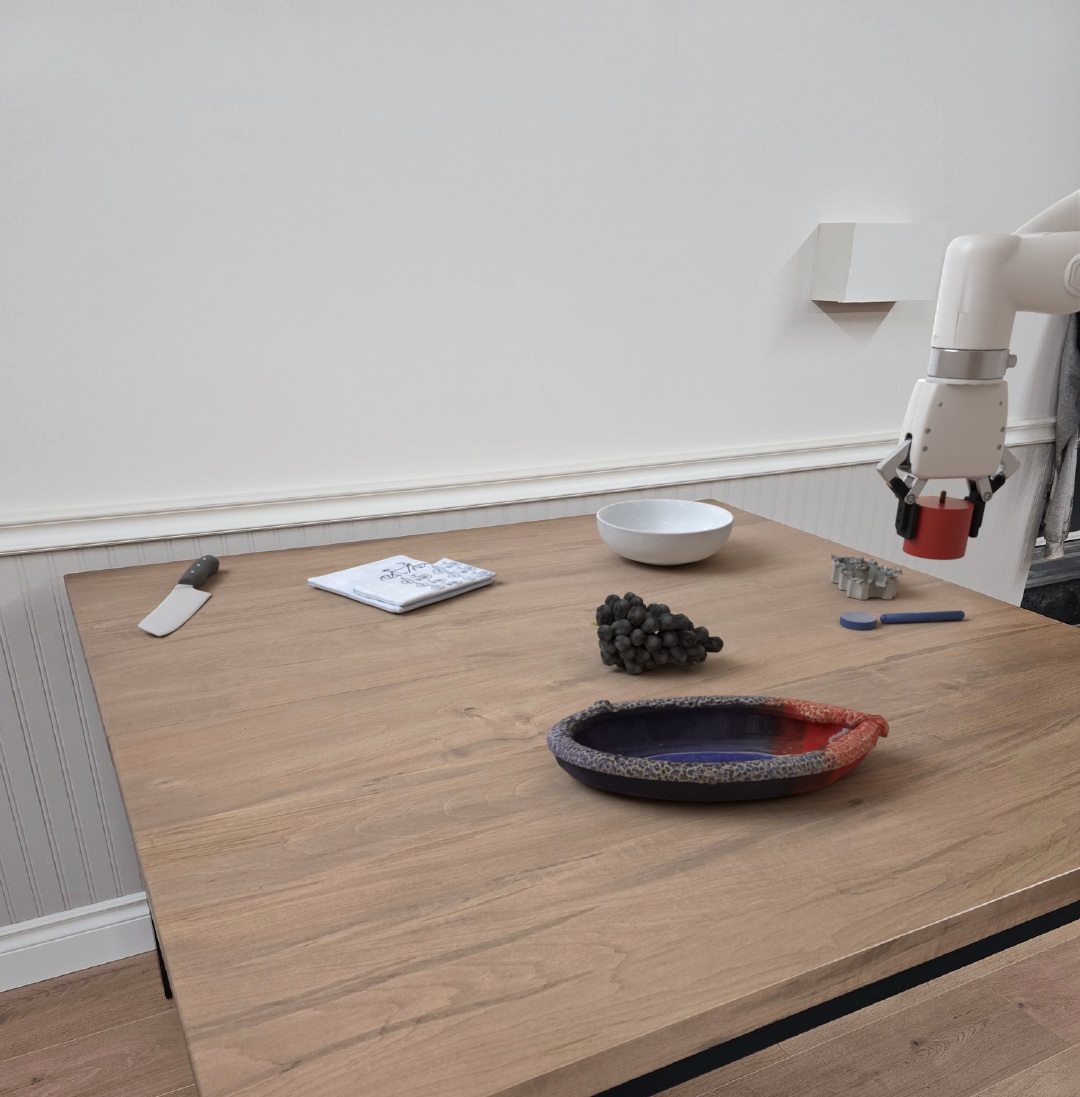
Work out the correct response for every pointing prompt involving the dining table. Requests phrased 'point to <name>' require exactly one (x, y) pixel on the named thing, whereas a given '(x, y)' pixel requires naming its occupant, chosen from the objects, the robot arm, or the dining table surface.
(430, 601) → the folded tea towel
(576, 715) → the dish
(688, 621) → the fruit
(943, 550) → the red stemmed cylinder
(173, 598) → the kitchen knife
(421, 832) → the dining table surface
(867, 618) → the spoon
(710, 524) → the serving bowl
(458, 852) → the dining table surface
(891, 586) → the egg carton
